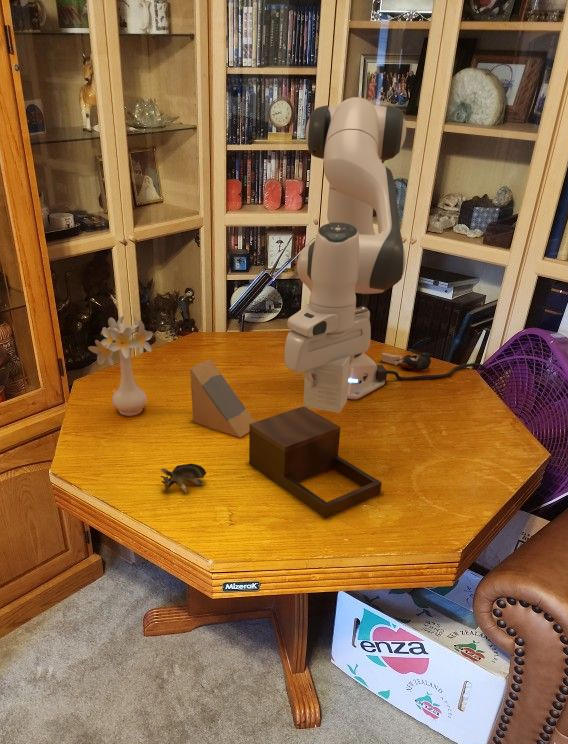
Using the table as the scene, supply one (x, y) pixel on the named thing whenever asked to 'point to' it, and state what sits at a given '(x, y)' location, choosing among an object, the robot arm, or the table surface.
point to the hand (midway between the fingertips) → (326, 381)
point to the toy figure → (409, 360)
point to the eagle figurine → (183, 475)
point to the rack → (305, 457)
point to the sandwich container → (217, 401)
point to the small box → (329, 386)
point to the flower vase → (124, 362)
